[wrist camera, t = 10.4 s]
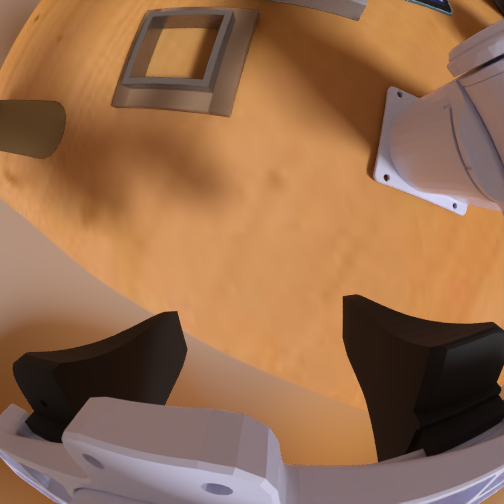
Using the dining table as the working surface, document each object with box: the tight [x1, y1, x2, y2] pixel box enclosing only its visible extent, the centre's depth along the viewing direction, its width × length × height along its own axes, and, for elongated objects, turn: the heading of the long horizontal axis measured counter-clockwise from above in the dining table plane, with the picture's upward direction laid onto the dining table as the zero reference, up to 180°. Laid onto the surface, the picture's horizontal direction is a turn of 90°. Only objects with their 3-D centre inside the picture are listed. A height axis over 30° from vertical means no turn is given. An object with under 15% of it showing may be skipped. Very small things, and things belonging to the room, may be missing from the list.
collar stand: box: [111, 7, 259, 117], centre depth 16 cm, size 10×10×2 cm
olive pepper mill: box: [0, 100, 66, 159], centre depth 14 cm, size 6×6×11 cm
